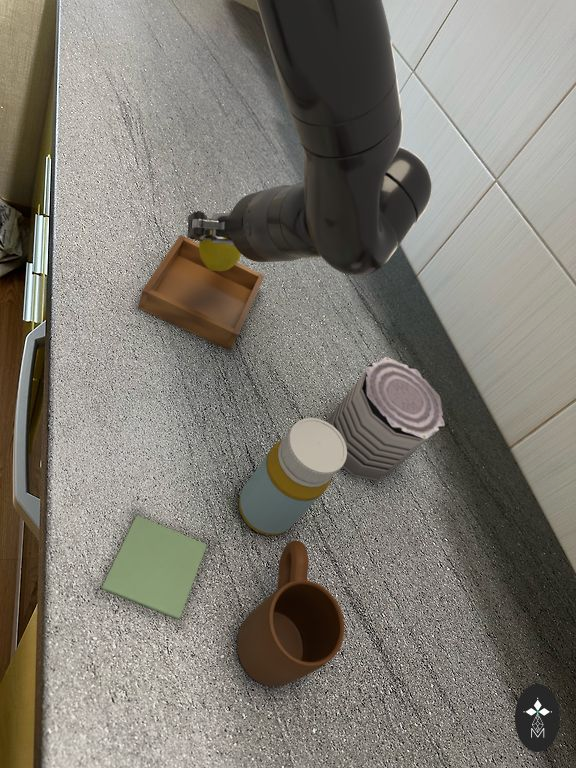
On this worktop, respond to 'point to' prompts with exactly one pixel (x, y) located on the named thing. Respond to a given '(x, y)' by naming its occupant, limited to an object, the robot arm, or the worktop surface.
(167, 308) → the crate
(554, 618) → the worktop surface
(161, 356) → the worktop surface
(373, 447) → the can
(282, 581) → the mug
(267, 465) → the bottle
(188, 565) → the mat
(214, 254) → the fruit
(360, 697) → the worktop surface
